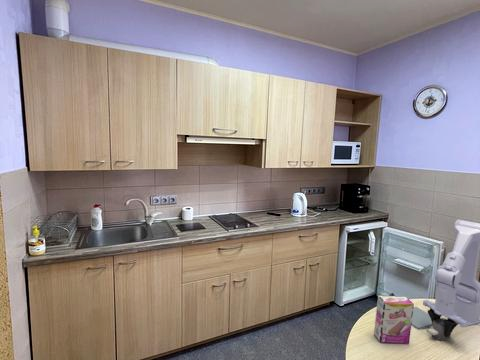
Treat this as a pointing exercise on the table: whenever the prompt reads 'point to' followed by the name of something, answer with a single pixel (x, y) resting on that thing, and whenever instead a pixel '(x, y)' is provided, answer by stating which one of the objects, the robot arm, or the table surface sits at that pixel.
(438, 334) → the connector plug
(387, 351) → the table surface
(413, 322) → the slate mat
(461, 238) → the robot arm
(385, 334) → the candy bar box
